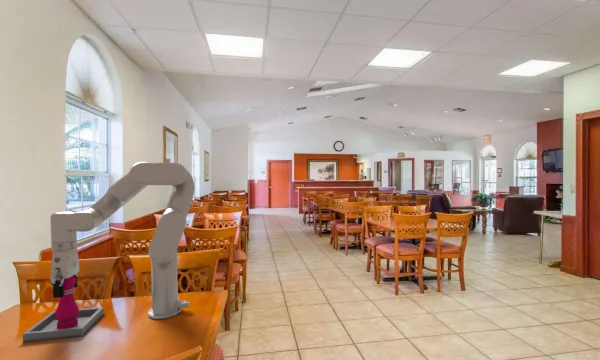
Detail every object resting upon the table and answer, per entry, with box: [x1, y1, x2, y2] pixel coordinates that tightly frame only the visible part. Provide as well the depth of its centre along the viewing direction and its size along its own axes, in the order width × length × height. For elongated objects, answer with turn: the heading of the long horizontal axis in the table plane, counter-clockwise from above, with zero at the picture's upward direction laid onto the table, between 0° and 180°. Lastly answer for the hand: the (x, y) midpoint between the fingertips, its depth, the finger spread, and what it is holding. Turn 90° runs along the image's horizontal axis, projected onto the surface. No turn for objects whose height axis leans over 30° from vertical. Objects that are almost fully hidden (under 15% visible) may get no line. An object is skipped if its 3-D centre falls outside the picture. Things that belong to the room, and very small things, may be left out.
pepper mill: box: [55, 276, 80, 329], centre depth 118 cm, size 7×7×20 cm
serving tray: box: [22, 306, 105, 343], centre depth 119 cm, size 18×18×3 cm
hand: (65, 292), depth 118 cm, fingers open, 9 cm apart
